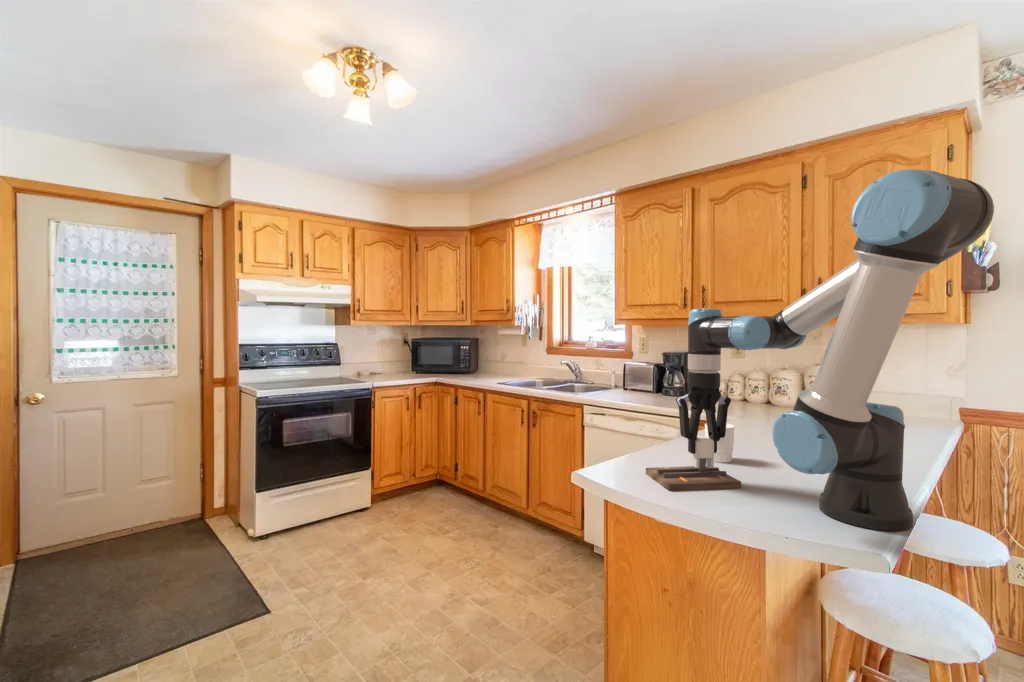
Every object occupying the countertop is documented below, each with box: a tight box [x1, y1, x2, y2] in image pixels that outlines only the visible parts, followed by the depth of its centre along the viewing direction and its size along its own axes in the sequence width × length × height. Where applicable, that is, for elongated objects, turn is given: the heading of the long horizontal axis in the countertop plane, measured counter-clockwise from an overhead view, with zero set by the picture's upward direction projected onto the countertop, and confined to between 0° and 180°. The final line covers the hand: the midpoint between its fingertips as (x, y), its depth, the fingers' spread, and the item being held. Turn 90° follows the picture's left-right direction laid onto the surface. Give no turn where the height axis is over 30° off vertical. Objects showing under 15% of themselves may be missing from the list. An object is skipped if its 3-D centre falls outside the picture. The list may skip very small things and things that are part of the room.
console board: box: [645, 465, 742, 492], centre depth 117 cm, size 13×18×2 cm
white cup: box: [704, 422, 736, 464], centre depth 136 cm, size 8×8×10 cm
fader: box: [697, 435, 713, 472], centre depth 117 cm, size 4×3×8 cm
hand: (702, 465), depth 117 cm, fingers closed on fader, 3 cm apart
